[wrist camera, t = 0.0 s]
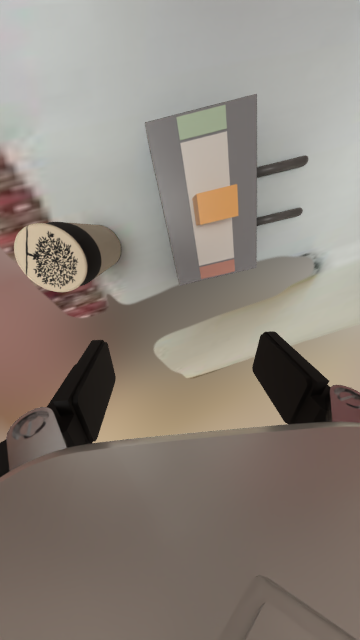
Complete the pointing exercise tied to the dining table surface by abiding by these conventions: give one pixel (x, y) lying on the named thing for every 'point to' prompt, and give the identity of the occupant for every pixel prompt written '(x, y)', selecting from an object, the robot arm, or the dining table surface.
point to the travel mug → (65, 253)
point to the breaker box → (212, 185)
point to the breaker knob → (216, 204)
